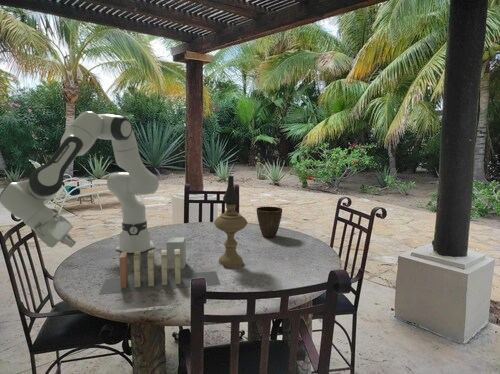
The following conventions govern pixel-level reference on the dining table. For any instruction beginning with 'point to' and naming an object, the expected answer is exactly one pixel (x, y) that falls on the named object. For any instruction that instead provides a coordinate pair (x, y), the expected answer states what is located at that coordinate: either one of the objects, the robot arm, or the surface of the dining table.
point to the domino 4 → (164, 266)
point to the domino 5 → (177, 266)
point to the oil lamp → (230, 227)
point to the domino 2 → (137, 269)
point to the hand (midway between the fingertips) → (73, 245)
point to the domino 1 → (123, 270)
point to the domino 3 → (151, 268)
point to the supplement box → (171, 245)
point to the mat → (157, 283)
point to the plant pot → (269, 220)
